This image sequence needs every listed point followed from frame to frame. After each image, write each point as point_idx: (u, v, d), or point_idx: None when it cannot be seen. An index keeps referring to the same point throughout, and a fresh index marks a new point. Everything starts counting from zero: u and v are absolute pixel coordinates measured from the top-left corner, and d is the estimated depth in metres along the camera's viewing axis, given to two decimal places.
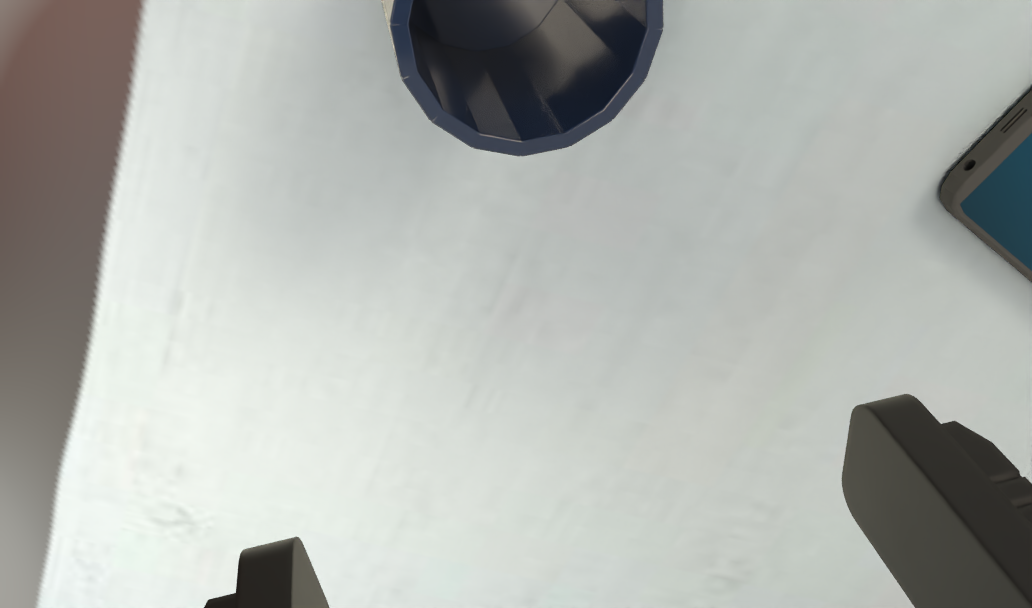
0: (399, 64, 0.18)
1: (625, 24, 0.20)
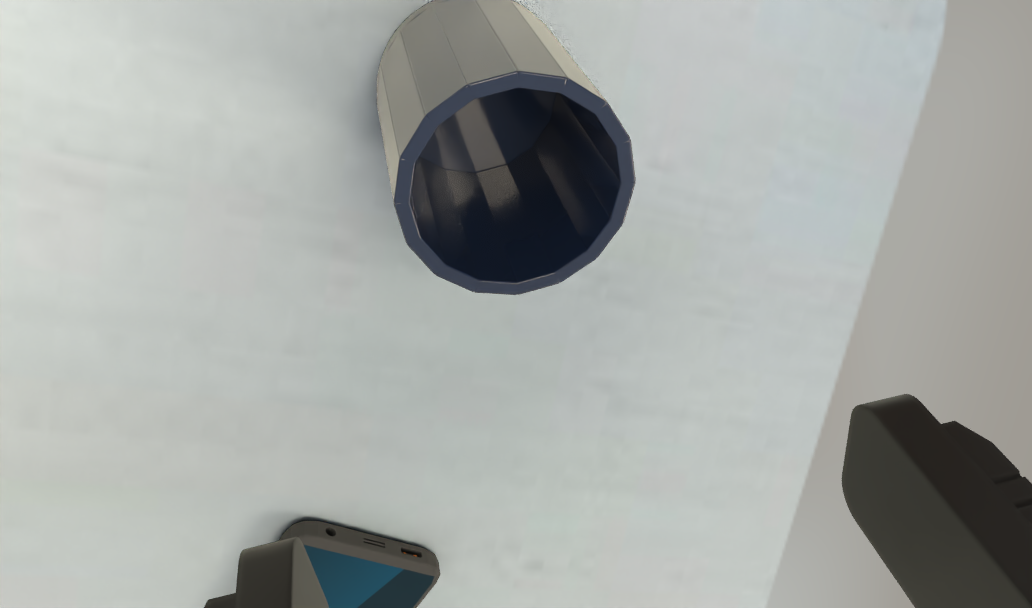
0: (481, 82, 0.19)
1: (498, 257, 0.23)
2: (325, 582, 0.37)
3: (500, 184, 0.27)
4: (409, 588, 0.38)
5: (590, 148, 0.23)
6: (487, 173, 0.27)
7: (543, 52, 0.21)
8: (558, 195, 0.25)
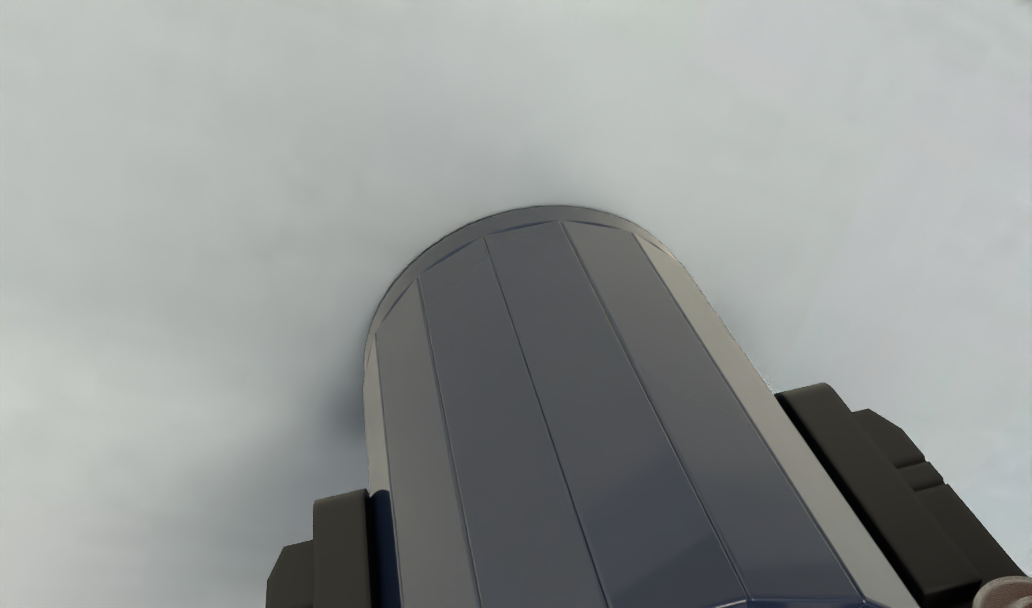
0: None
1: None
2: None
3: None
4: None
5: None
6: None
7: (762, 457, 0.09)
8: None
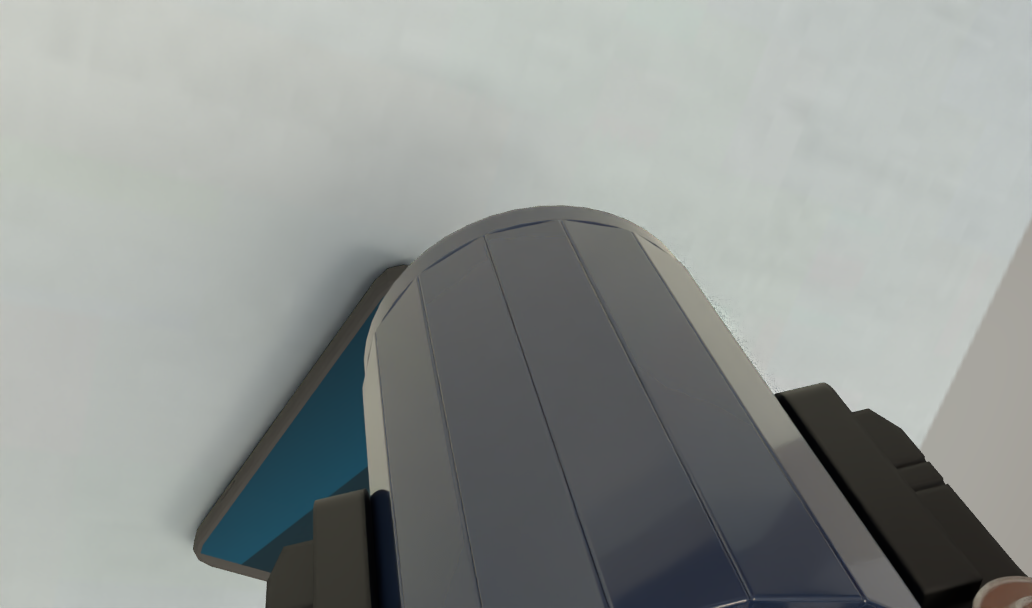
0: None
1: None
2: None
3: None
4: None
5: None
6: None
7: (763, 457, 0.09)
8: None
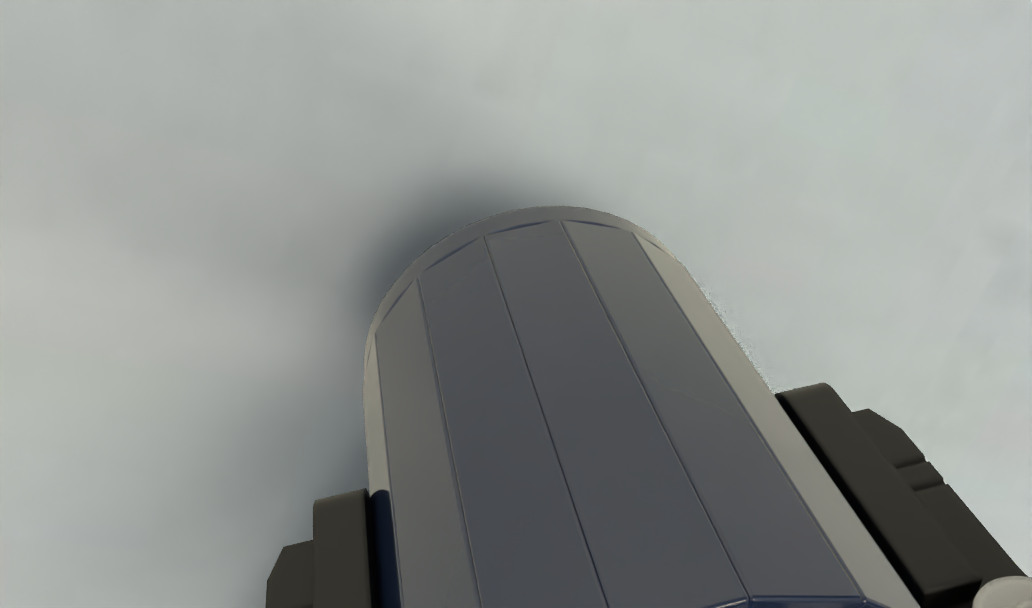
0: None
1: None
2: None
3: None
4: None
5: None
6: None
7: (763, 457, 0.09)
8: None
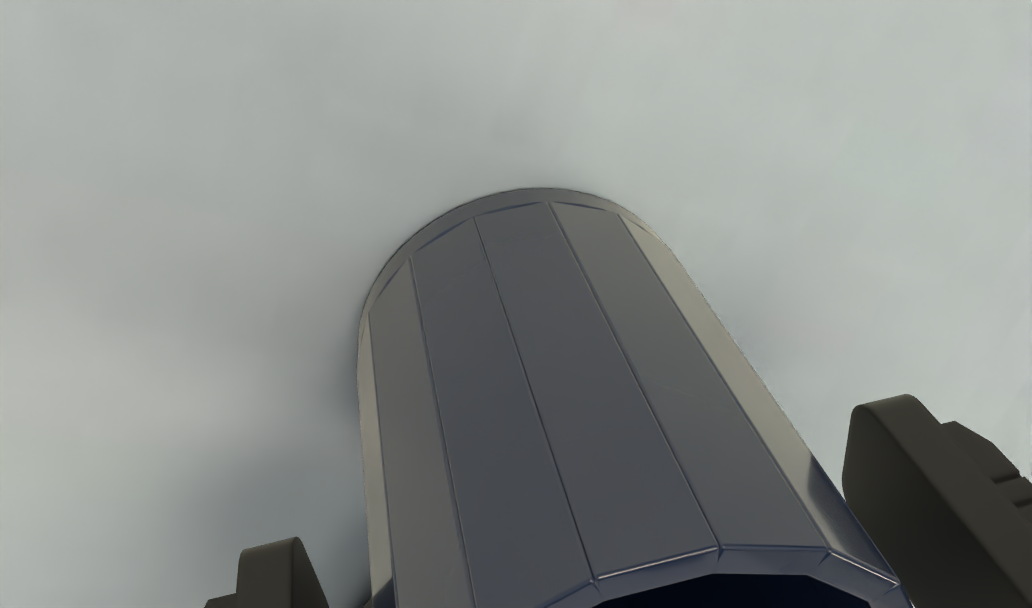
0: (628, 572, 0.07)
1: None
2: None
3: None
4: None
5: None
6: None
7: (737, 421, 0.09)
8: (688, 584, 0.13)
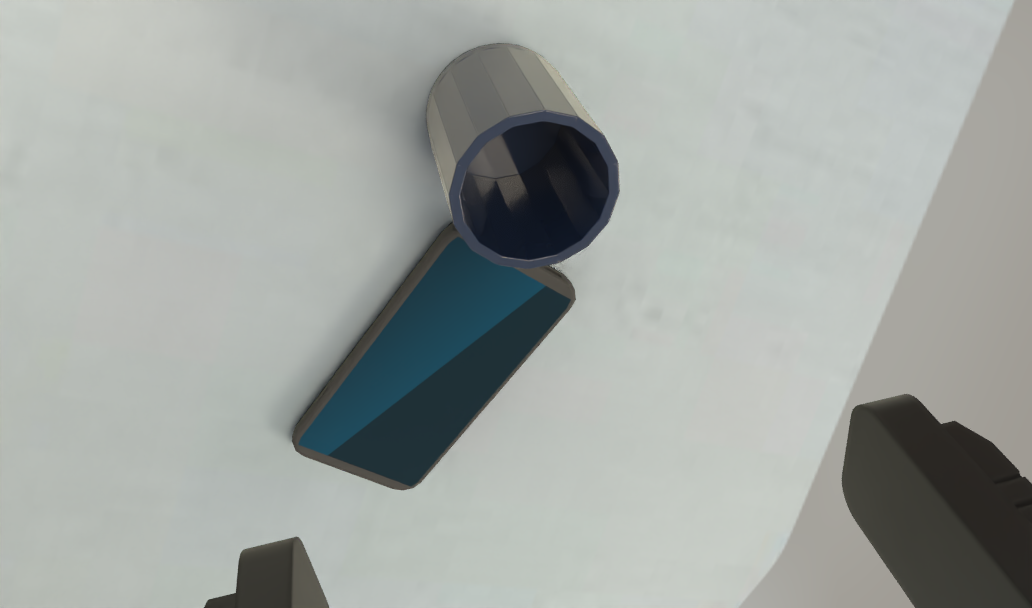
0: (519, 115, 0.27)
1: (515, 241, 0.31)
2: (473, 290, 0.38)
3: (514, 189, 0.35)
4: (545, 310, 0.40)
5: (587, 166, 0.32)
6: (504, 180, 0.36)
7: (560, 96, 0.29)
8: (560, 199, 0.33)
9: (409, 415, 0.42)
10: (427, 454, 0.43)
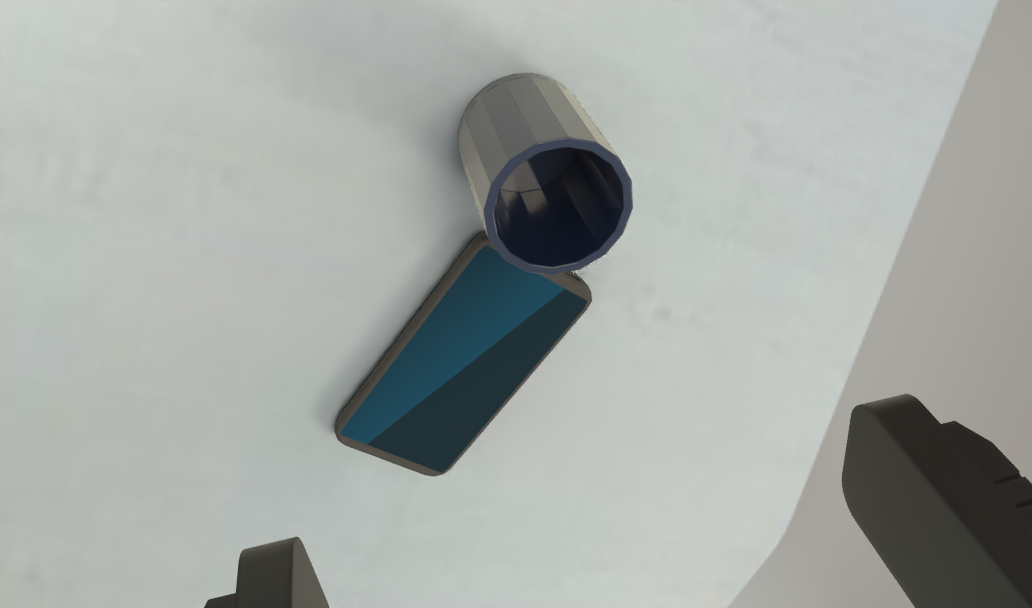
0: (545, 142, 0.31)
1: (540, 250, 0.35)
2: (499, 292, 0.42)
3: (537, 202, 0.39)
4: (565, 310, 0.44)
5: (603, 183, 0.36)
6: (528, 194, 0.40)
7: (580, 123, 0.33)
8: (579, 212, 0.37)
9: (441, 407, 0.46)
10: (457, 442, 0.48)
